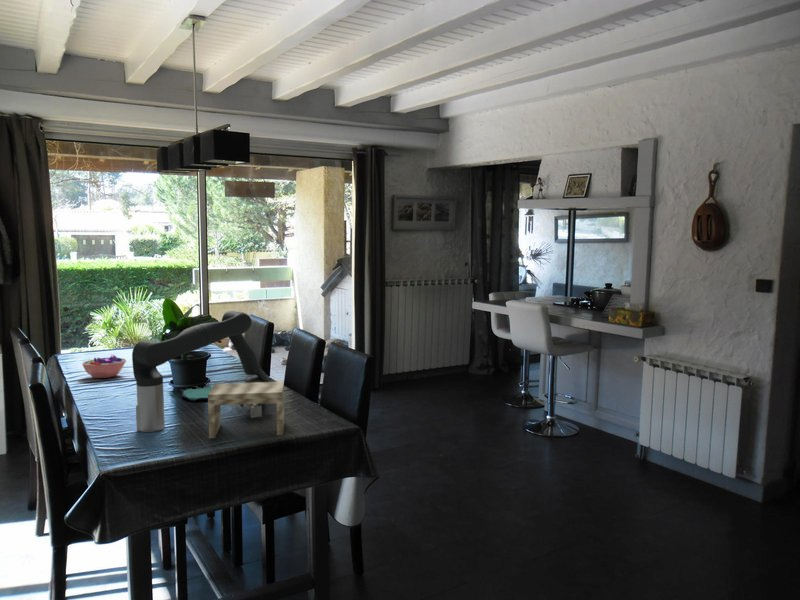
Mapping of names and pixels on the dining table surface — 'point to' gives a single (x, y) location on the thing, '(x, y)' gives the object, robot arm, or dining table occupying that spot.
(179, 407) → the dining table surface
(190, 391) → the teal flat tray
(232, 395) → the small wooden stool
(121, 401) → the dining table surface
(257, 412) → the lighter
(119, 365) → the cell model
